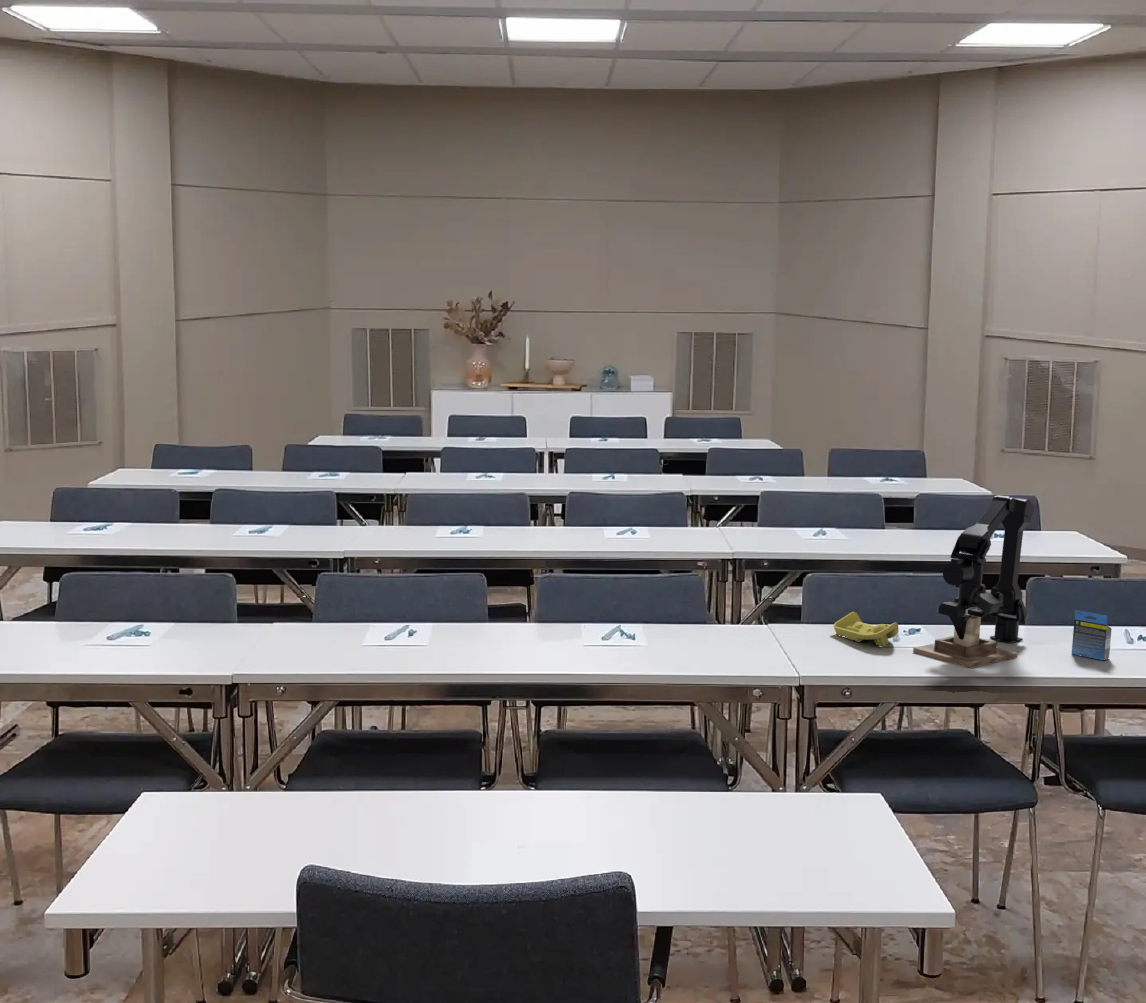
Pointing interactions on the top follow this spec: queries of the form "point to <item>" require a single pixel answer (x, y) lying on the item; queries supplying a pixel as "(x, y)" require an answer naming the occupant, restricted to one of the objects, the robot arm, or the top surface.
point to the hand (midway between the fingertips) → (966, 638)
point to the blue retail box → (1091, 636)
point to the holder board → (965, 652)
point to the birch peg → (969, 632)
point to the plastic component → (864, 630)
